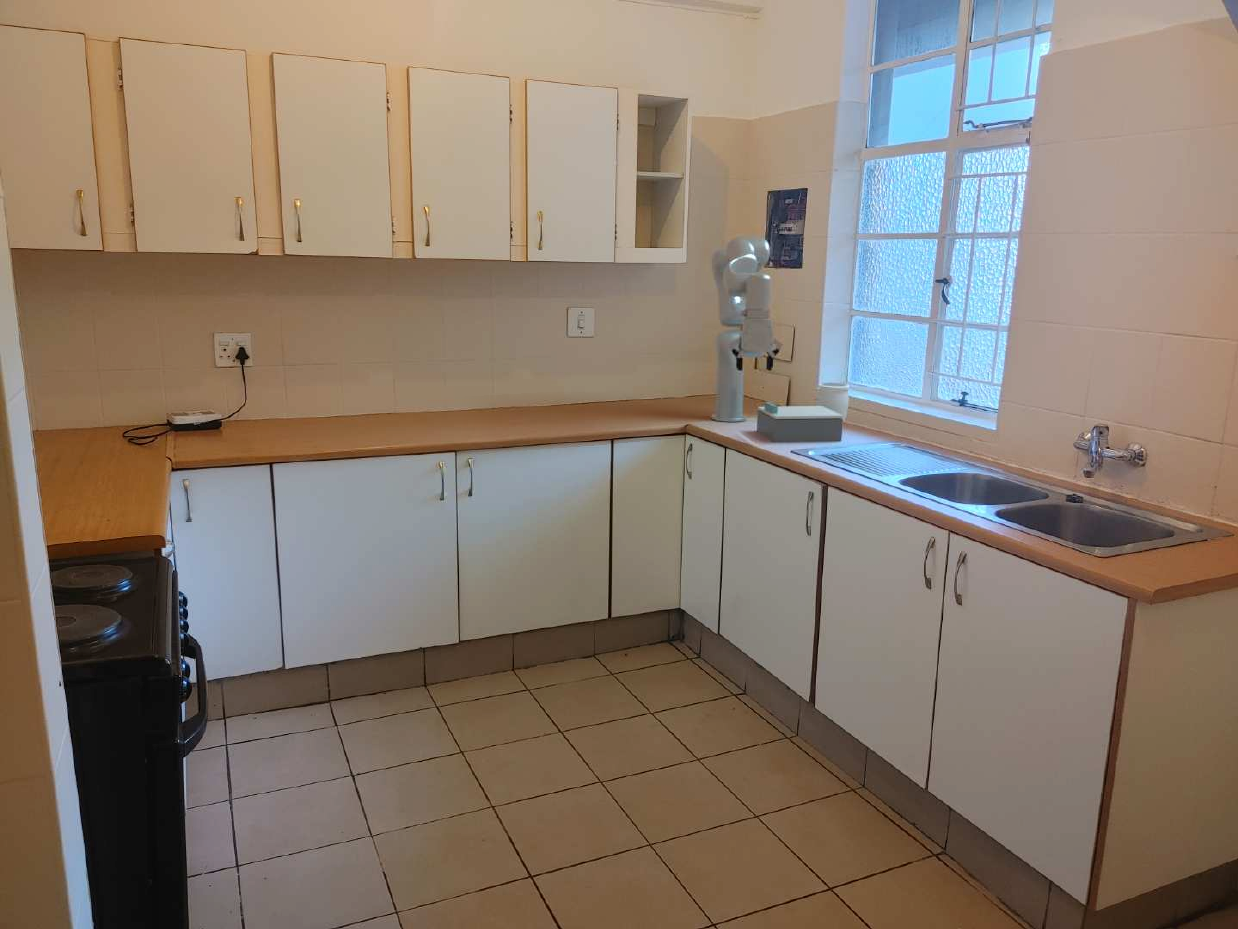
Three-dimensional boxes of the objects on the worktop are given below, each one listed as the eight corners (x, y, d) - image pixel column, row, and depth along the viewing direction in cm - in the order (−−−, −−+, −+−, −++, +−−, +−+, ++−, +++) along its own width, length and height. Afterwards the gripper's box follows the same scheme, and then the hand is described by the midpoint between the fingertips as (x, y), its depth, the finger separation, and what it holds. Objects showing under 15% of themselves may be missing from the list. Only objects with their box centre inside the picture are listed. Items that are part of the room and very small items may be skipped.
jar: (847, 431, 309) (850, 387, 305) (815, 430, 311) (818, 386, 307) (846, 426, 319) (849, 383, 315) (815, 424, 321) (818, 381, 317)
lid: (757, 409, 301) (758, 399, 300) (821, 408, 304) (822, 398, 303) (775, 419, 283) (775, 408, 283) (842, 418, 287) (843, 408, 286)
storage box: (756, 433, 303) (757, 410, 301) (820, 432, 306) (821, 409, 304) (773, 445, 285) (775, 420, 283) (841, 444, 289) (842, 419, 287)
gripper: (733, 315, 279) (730, 371, 283) (787, 315, 282) (784, 371, 286) (726, 313, 286) (724, 368, 290) (779, 314, 289) (776, 368, 293)
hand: (754, 370), depth 288 cm, fingers open, 9 cm apart
